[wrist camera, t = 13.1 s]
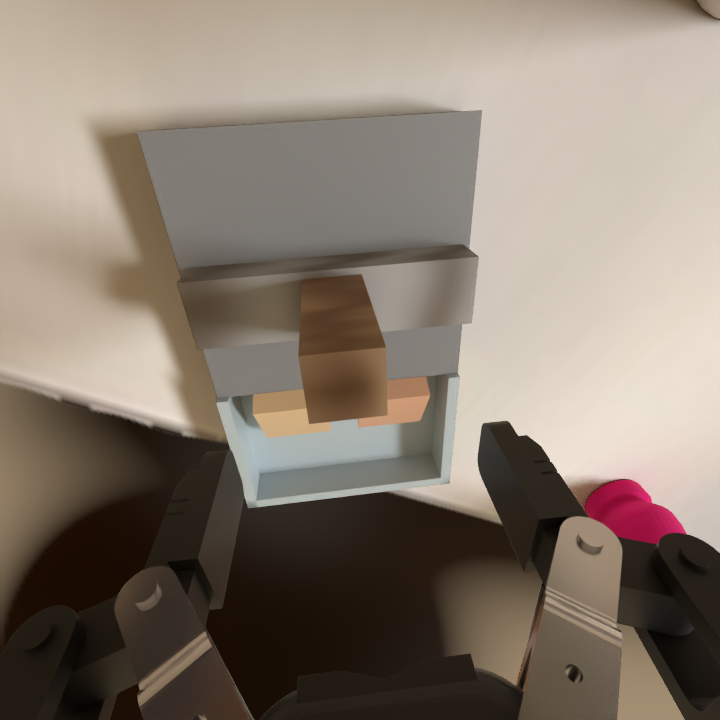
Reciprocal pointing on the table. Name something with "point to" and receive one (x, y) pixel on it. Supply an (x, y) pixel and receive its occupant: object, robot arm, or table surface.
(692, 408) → the table surface
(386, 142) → the board
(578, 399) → the table surface
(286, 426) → the tile
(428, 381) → the tray
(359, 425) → the tile
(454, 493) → the table surface
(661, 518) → the pepper mill
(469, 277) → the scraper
